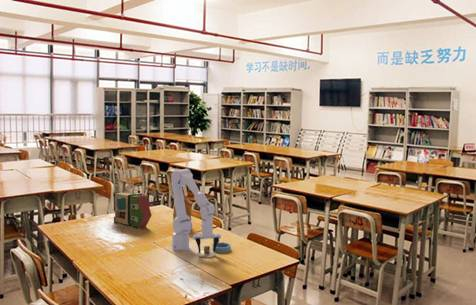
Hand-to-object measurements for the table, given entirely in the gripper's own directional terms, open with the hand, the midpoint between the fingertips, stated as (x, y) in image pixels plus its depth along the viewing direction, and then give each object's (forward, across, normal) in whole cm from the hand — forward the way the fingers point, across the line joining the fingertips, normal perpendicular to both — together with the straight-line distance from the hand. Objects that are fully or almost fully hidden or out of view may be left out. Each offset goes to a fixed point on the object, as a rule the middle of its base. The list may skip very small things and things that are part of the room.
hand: (206, 251), depth 231 cm
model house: (+2, -43, +62) cm, 75 cm away
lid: (+2, 0, 0) cm, 2 cm away
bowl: (+2, +9, +8) cm, 12 cm away
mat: (+2, 0, 0) cm, 2 cm away
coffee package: (+2, -10, +56) cm, 57 cm away
